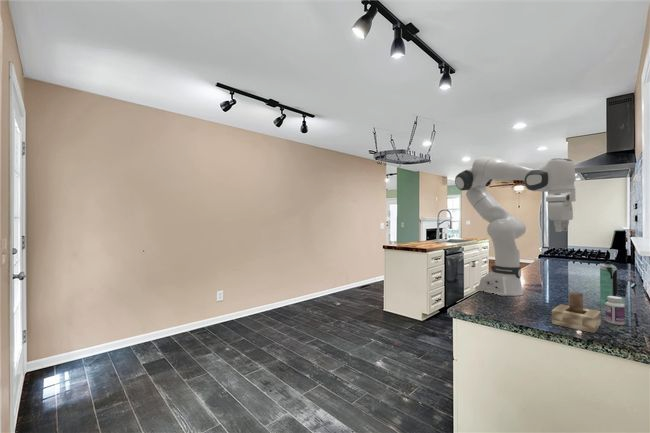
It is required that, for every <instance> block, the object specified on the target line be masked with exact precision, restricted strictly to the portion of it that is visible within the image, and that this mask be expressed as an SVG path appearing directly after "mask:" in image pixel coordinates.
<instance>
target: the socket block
mask: <svg viewBox="0 0 650 433" xmlns="http://www.w3.org/2000/svg"><path fill="white" fill-rule="evenodd" d="M601 312H602V311H600V310H595V309H590V308H584V307H583V314H580V313H574V312H569V304H562V303H560V304H559V305H558V306H556V307H554V308H553V309H551V325H557V326H560V327H561V326H562V327H566V328H570V329H574V330H579V331H582V332H583V331H584V332H589V333H592V334H595V333H596V332H597V330H598V329H599V328H600V327H601V324H602V319H601V318H602V315H601V314H602V313H601ZM599 326H600V327H599Z"/></svg>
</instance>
